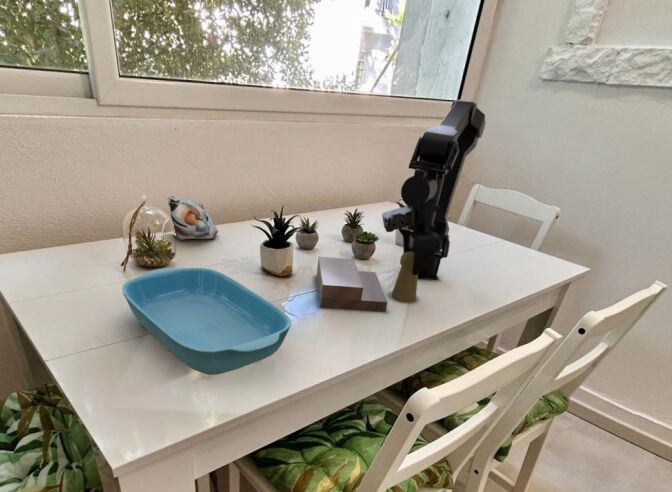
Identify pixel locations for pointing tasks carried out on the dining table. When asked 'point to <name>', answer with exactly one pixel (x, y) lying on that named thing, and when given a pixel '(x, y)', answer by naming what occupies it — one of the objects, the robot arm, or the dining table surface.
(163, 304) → the casserole dish
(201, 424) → the dining table surface
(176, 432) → the dining table surface
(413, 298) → the olive green pawn
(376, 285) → the shelf
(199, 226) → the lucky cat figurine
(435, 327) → the dining table surface
